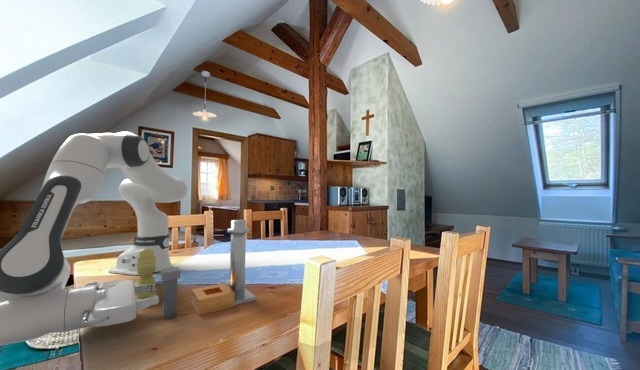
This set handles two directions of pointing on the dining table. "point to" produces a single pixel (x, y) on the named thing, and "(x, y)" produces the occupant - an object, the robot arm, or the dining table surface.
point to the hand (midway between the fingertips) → (156, 293)
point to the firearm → (146, 271)
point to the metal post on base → (236, 294)
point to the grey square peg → (169, 291)
